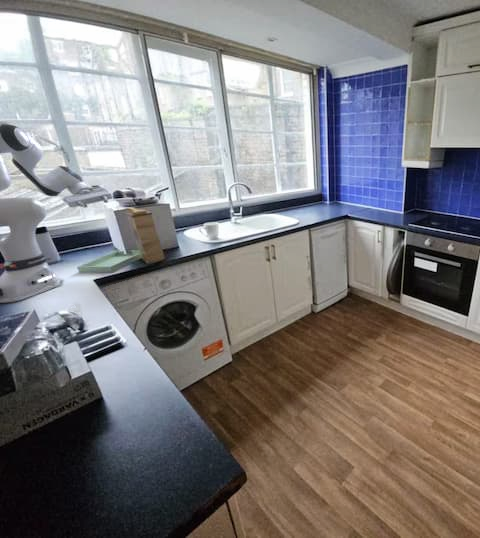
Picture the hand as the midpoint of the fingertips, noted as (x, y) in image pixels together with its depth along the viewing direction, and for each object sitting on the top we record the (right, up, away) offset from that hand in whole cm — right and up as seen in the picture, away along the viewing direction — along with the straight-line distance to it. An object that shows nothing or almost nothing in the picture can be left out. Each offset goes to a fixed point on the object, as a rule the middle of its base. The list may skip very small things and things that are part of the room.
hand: (96, 203), depth 161 cm
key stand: (+32, -31, 0) cm, 44 cm away
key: (+28, -6, -8) cm, 29 cm away
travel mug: (-23, -32, 0) cm, 40 cm away
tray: (+14, -33, -4) cm, 36 cm away
